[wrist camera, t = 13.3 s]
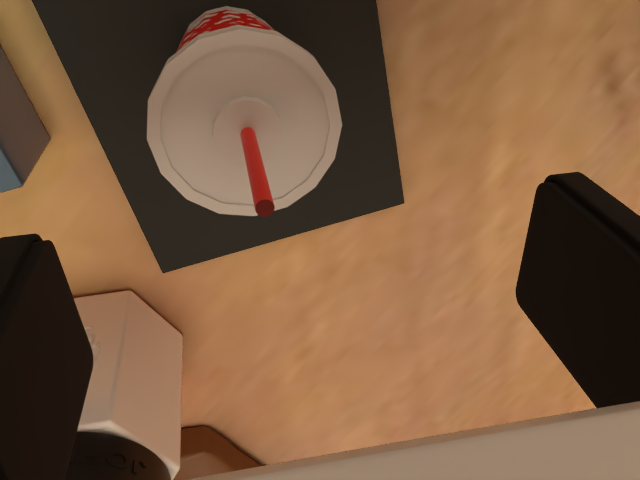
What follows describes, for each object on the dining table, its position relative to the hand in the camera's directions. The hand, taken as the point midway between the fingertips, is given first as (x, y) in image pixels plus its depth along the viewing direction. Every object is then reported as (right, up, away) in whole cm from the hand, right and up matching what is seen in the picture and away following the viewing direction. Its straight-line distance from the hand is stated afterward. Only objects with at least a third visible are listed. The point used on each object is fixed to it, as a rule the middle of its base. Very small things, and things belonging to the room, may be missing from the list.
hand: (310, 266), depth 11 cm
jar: (-13, -6, +21) cm, 25 cm away
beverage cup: (-4, +9, +14) cm, 17 cm away
